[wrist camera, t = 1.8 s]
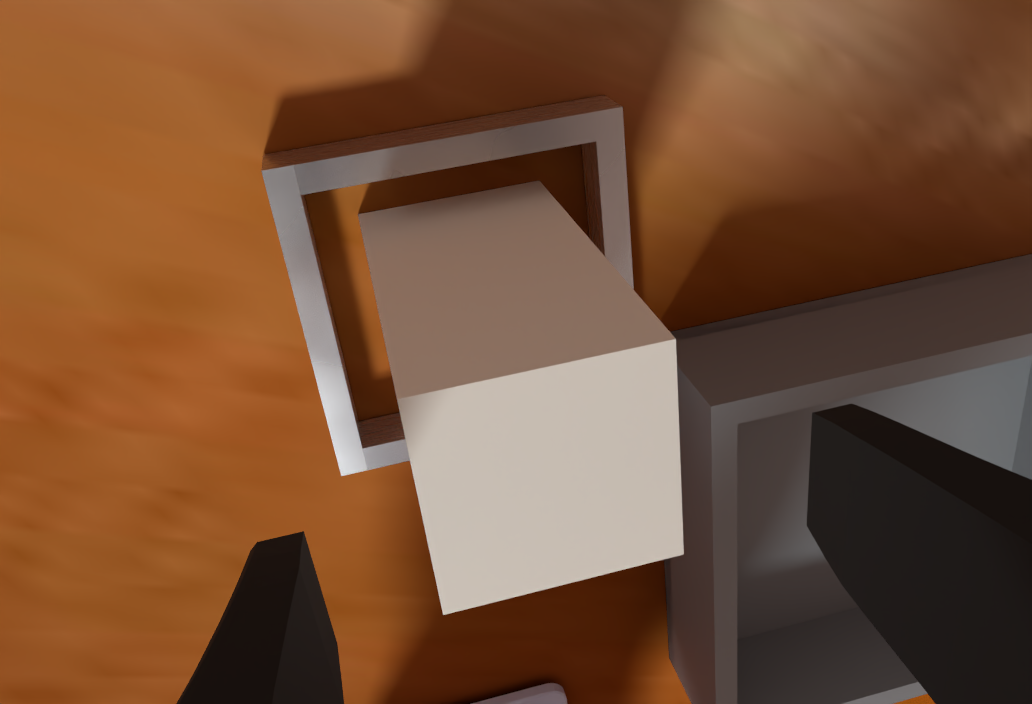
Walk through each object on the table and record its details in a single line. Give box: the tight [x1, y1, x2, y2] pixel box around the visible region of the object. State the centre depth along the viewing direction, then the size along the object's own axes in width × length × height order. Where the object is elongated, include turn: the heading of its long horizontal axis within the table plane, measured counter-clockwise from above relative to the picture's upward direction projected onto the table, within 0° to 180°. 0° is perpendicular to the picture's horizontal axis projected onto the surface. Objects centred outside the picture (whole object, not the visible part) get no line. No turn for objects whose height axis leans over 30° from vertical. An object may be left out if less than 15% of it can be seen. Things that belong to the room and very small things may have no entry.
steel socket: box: [262, 95, 634, 476], centre depth 20 cm, size 7×7×1 cm
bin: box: [664, 254, 1032, 704], centre depth 24 cm, size 11×11×4 cm
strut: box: [358, 181, 684, 615], centre depth 17 cm, size 4×4×8 cm
